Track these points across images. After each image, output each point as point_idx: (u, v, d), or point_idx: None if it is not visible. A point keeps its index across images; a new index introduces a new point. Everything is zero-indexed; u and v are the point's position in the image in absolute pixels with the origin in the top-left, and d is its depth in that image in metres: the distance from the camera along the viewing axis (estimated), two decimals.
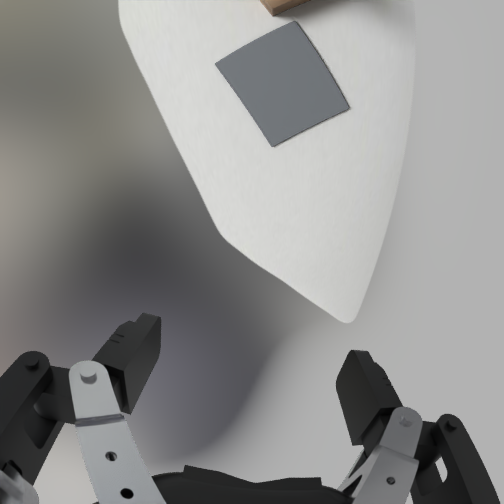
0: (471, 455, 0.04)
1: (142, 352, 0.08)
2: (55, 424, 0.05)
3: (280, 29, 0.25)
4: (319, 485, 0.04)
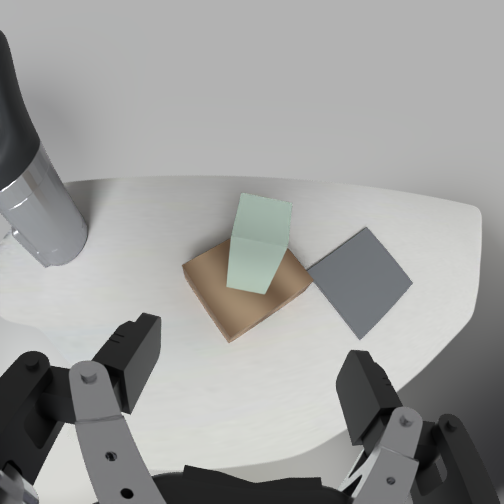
0: (471, 455, 0.04)
1: (142, 351, 0.08)
2: (55, 424, 0.05)
3: (318, 282, 0.36)
4: (319, 485, 0.04)
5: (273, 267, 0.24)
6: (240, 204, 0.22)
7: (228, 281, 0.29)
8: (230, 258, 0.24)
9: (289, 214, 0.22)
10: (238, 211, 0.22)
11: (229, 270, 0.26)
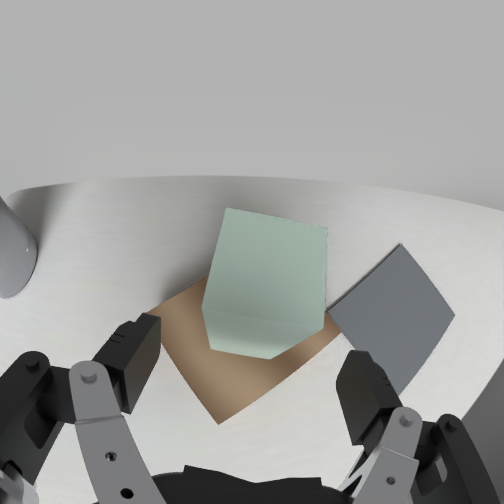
0: (471, 455, 0.04)
1: (142, 351, 0.08)
2: (55, 424, 0.05)
3: (344, 327, 0.24)
4: (319, 485, 0.04)
5: (287, 343, 0.13)
6: (223, 232, 0.11)
7: (212, 346, 0.17)
8: (209, 330, 0.13)
9: (323, 252, 0.11)
10: (218, 249, 0.10)
11: (211, 339, 0.15)
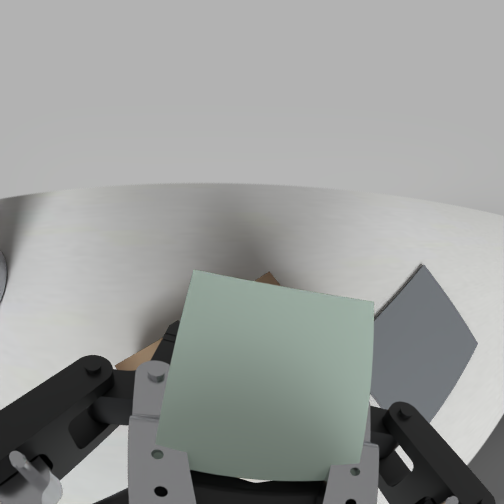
0: (435, 441, 0.05)
1: None
2: (105, 428, 0.06)
3: None
4: (319, 485, 0.04)
5: None
6: (186, 324, 0.05)
7: None
8: None
9: (368, 351, 0.06)
10: (177, 358, 0.05)
11: None
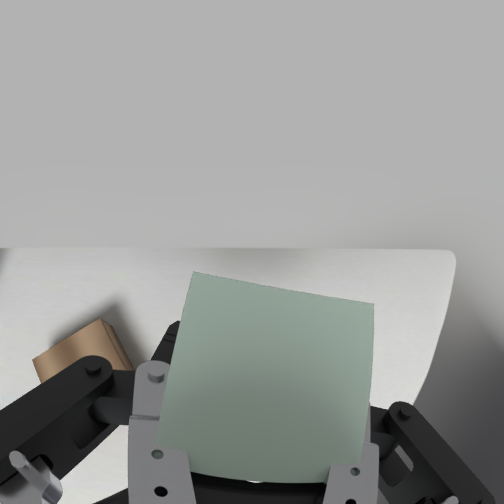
0: (434, 441, 0.05)
1: None
2: (105, 428, 0.06)
3: None
4: (319, 485, 0.04)
5: None
6: (186, 326, 0.05)
7: None
8: None
9: (368, 353, 0.06)
10: (177, 360, 0.05)
11: None
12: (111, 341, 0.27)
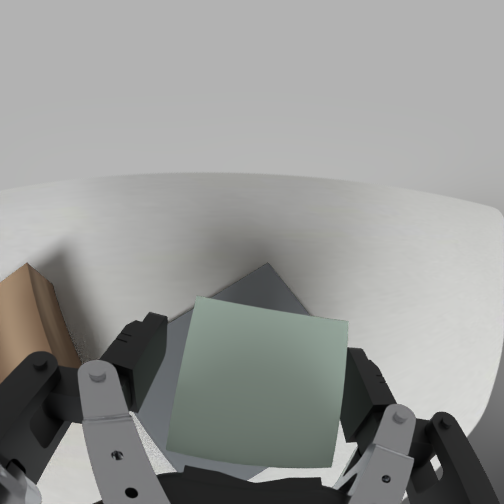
0: (467, 453, 0.04)
1: (150, 351, 0.08)
2: (62, 424, 0.05)
3: None
4: (319, 485, 0.04)
5: None
6: (192, 341, 0.07)
7: None
8: None
9: (341, 363, 0.07)
10: (185, 368, 0.06)
11: None
12: (37, 300, 0.14)
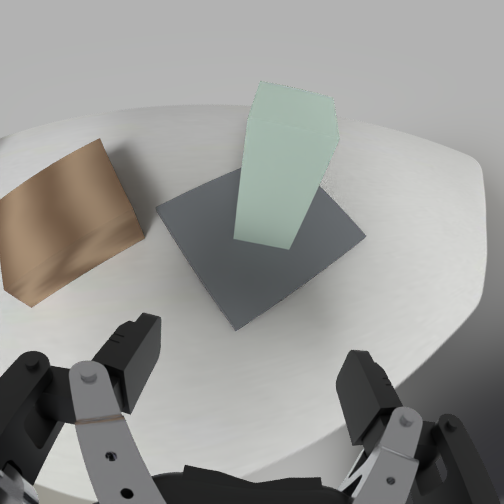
0: (471, 455, 0.04)
1: (142, 351, 0.08)
2: (55, 424, 0.05)
3: (170, 225, 0.21)
4: (319, 485, 0.04)
5: (310, 187, 0.15)
6: (259, 90, 0.13)
7: (237, 226, 0.20)
8: (243, 173, 0.15)
9: (332, 106, 0.13)
10: (257, 95, 0.13)
11: (240, 202, 0.17)
12: None
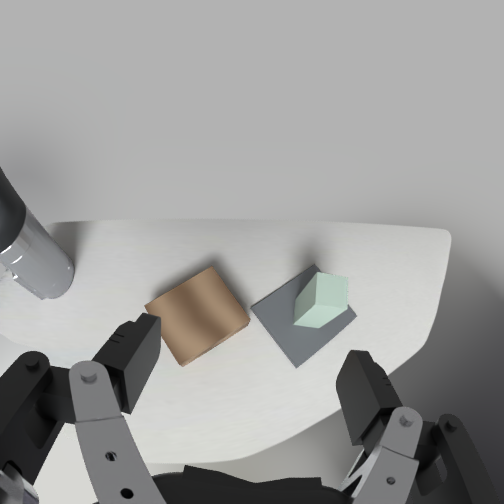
0: (471, 455, 0.04)
1: (142, 351, 0.08)
2: (55, 424, 0.05)
3: (261, 318, 0.42)
4: (319, 485, 0.04)
5: (333, 316, 0.36)
6: (317, 281, 0.34)
7: (296, 322, 0.40)
8: (307, 312, 0.36)
9: (346, 286, 0.34)
10: (317, 286, 0.33)
11: (302, 317, 0.38)
12: None
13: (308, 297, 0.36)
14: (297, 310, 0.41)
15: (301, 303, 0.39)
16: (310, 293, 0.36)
